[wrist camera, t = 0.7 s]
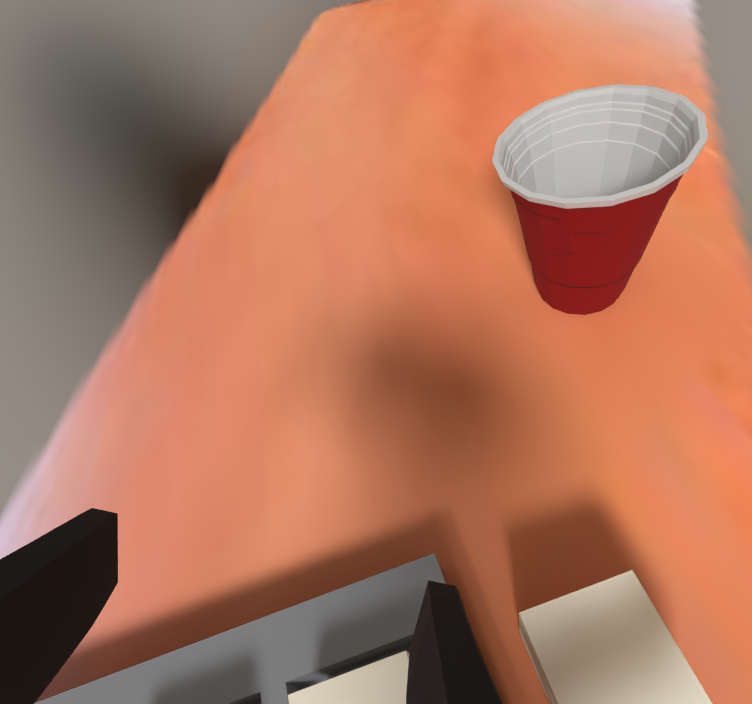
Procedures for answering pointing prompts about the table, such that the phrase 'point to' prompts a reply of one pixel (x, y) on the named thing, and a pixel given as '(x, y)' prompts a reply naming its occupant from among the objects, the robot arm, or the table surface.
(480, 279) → the table surface
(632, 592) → the loose block
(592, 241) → the plastic cup
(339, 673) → the puzzle board
